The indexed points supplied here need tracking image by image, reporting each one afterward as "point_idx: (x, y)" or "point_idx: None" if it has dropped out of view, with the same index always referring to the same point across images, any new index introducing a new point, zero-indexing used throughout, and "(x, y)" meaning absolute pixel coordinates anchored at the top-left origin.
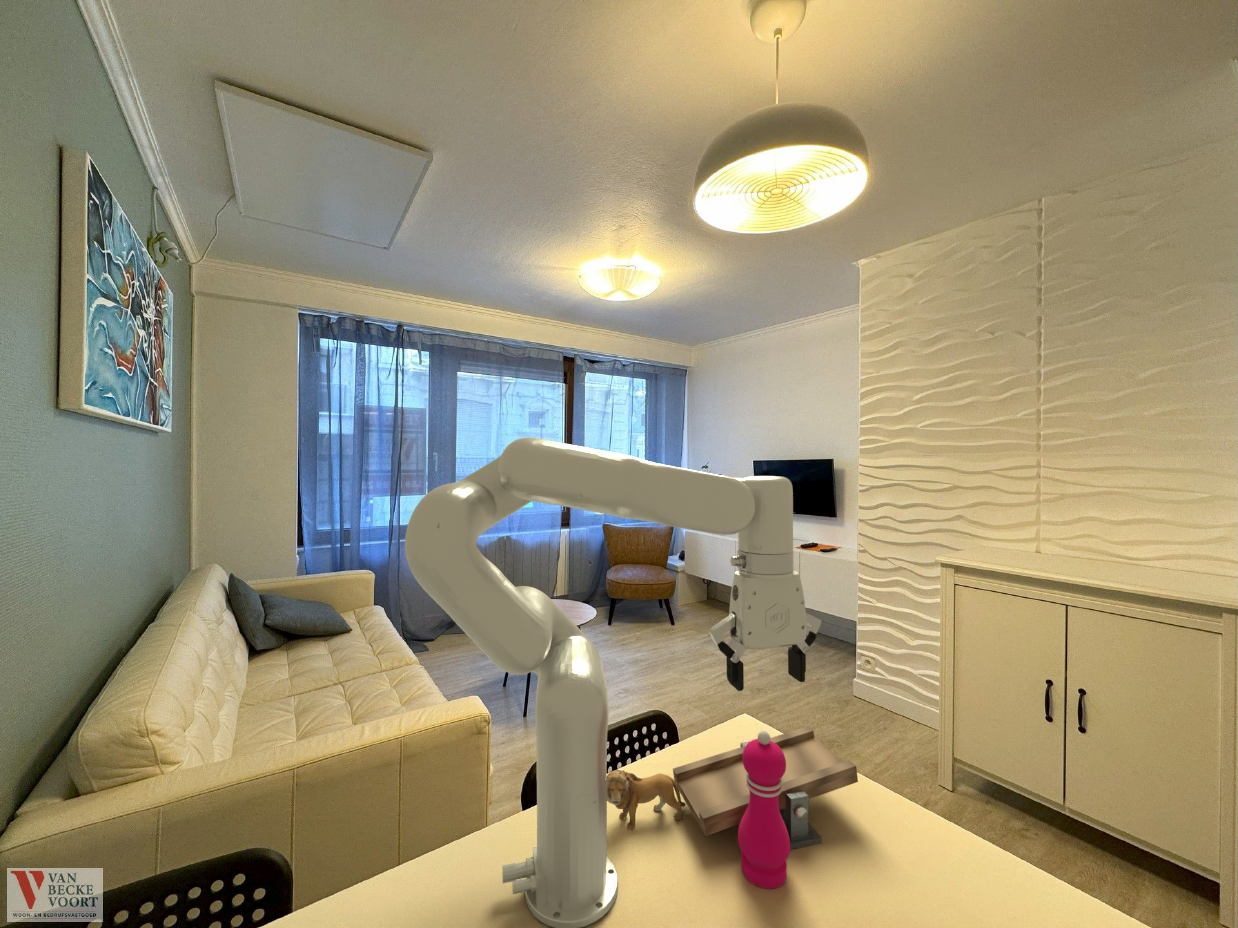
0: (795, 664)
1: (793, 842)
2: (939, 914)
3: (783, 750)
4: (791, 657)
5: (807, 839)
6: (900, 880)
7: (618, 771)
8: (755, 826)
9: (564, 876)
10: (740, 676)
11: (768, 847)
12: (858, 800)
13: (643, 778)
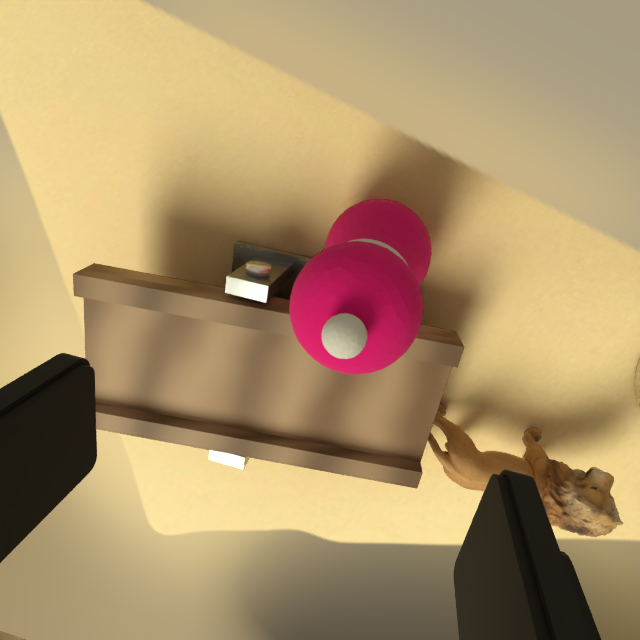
0: (26, 459)
1: (291, 258)
2: (170, 24)
3: (174, 407)
4: (3, 522)
5: (262, 251)
6: (175, 111)
7: (588, 526)
8: (413, 250)
9: None
10: (552, 551)
11: (403, 215)
12: None
13: None
